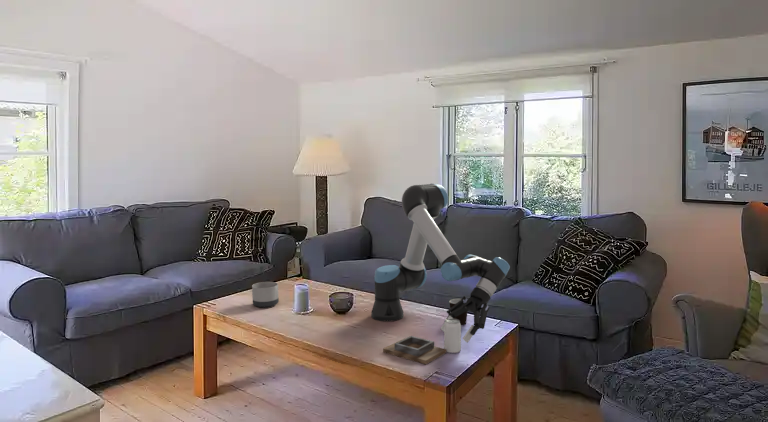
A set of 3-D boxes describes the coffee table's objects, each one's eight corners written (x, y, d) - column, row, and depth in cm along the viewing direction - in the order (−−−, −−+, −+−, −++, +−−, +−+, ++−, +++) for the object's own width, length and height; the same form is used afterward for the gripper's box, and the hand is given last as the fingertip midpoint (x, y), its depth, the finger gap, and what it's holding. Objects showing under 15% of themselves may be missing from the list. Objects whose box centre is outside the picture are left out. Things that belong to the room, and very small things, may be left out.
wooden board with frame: (383, 352, 214) (382, 342, 214) (404, 341, 225) (404, 332, 225) (425, 364, 202) (425, 354, 202) (446, 352, 213) (446, 343, 212)
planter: (275, 308, 273) (275, 288, 271) (249, 309, 273) (249, 288, 271) (281, 301, 285) (280, 281, 284) (256, 301, 285) (255, 281, 284)
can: (449, 346, 220) (449, 317, 218) (463, 349, 216) (463, 320, 215) (441, 351, 215) (441, 321, 213) (456, 354, 211) (456, 324, 209)
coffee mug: (468, 326, 243) (468, 304, 242) (448, 325, 245) (448, 303, 243) (469, 318, 254) (469, 297, 253) (450, 317, 256) (450, 296, 255)
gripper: (510, 304, 211) (480, 350, 205) (467, 290, 232) (439, 331, 226) (500, 293, 208) (469, 339, 202) (457, 280, 229) (428, 321, 223)
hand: (453, 335), depth 214 cm, fingers open, 13 cm apart
